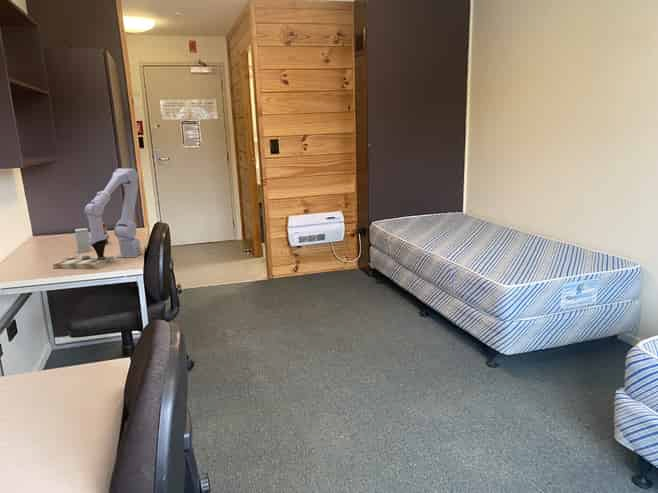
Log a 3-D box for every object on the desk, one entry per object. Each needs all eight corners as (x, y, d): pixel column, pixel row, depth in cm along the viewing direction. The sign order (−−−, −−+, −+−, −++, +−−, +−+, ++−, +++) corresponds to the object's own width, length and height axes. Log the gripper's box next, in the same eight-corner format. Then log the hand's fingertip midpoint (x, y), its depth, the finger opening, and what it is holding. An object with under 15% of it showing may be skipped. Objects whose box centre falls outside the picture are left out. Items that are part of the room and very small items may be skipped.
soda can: (91, 245, 271) (88, 224, 268) (101, 242, 277) (98, 222, 274) (101, 246, 268) (98, 225, 265) (111, 243, 275) (108, 222, 272)
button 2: (106, 259, 233) (105, 255, 233) (102, 260, 230) (101, 257, 230) (100, 259, 234) (99, 255, 233) (96, 260, 231) (95, 257, 230)
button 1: (76, 260, 236) (76, 257, 236) (72, 262, 233) (71, 259, 233) (70, 260, 237) (70, 257, 236) (66, 262, 233) (65, 259, 233)
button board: (113, 261, 236) (113, 255, 236) (97, 269, 224) (96, 263, 223) (71, 260, 240) (70, 255, 239) (53, 268, 227) (52, 262, 227)
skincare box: (79, 253, 255) (75, 230, 252) (77, 251, 259) (74, 229, 256) (91, 251, 258) (88, 229, 255) (90, 249, 262) (87, 227, 259)
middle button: (91, 259, 235) (90, 255, 234) (87, 260, 232) (86, 257, 231) (85, 258, 235) (84, 255, 235) (81, 260, 232) (80, 257, 232)
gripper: (98, 225, 236) (102, 252, 239) (78, 232, 222) (83, 260, 225) (111, 225, 235) (115, 252, 238) (93, 232, 221) (97, 260, 224)
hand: (100, 256), depth 232 cm, fingers closed
